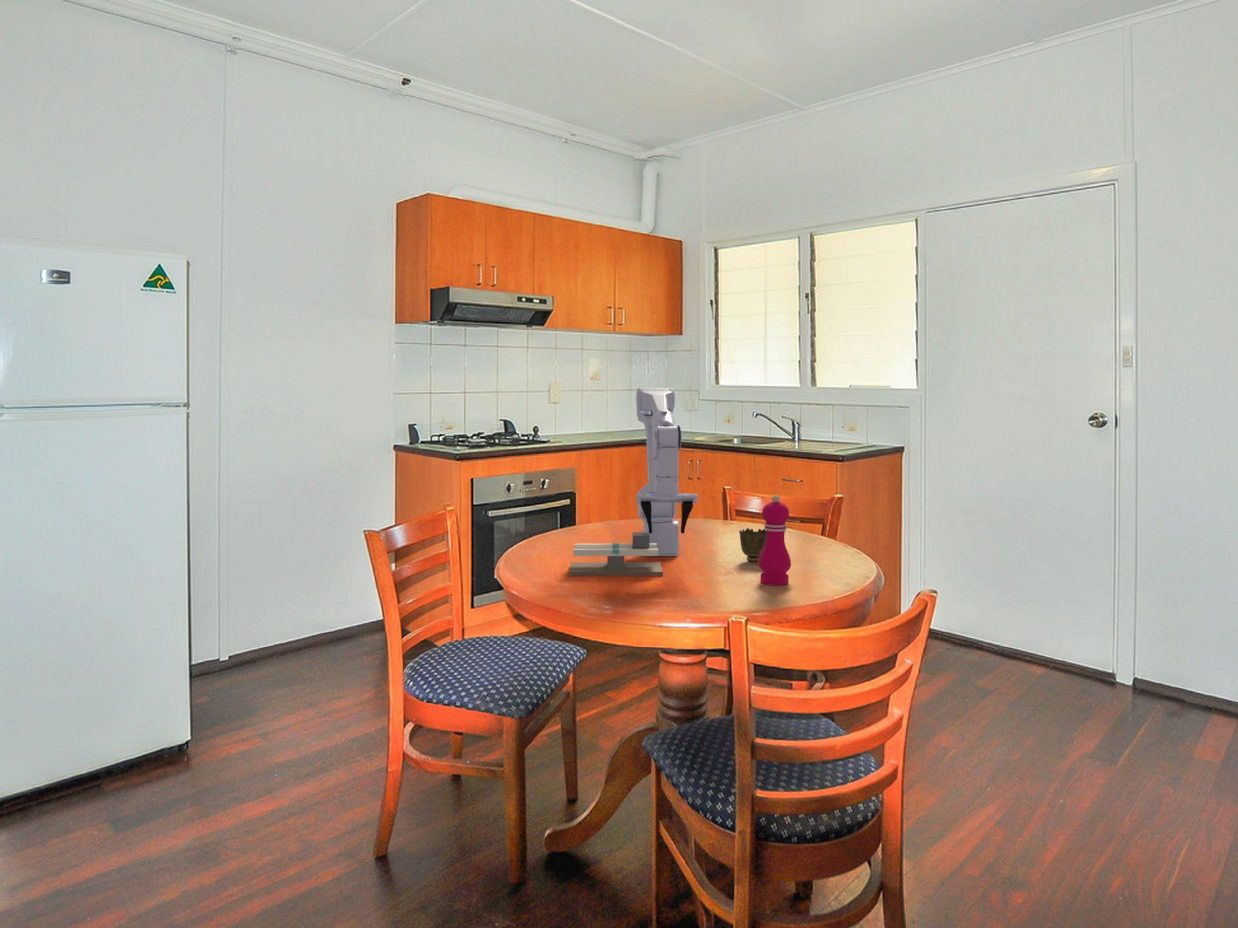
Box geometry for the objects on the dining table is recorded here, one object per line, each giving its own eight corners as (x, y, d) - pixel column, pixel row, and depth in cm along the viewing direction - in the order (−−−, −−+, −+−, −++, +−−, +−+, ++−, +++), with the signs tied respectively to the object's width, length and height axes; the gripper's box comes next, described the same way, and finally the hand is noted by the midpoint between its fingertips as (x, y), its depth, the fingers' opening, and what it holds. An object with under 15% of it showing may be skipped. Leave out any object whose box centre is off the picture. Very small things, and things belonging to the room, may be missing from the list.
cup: (770, 559, 200) (771, 528, 199) (766, 566, 193) (767, 534, 192) (741, 557, 203) (742, 527, 202) (736, 563, 196) (737, 532, 195)
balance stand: (660, 565, 194) (660, 541, 193) (662, 575, 184) (662, 550, 183) (571, 566, 193) (570, 542, 193) (569, 576, 184) (568, 550, 183)
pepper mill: (754, 578, 181) (756, 493, 179) (785, 577, 182) (787, 492, 180) (763, 586, 174) (764, 497, 172) (794, 585, 175) (796, 497, 173)
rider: (648, 548, 190) (648, 532, 190) (649, 552, 186) (649, 535, 186) (632, 548, 190) (632, 532, 190) (632, 552, 186) (632, 535, 186)
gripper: (636, 478, 182) (636, 535, 184) (698, 478, 182) (698, 535, 184) (636, 474, 189) (636, 530, 191) (696, 474, 189) (695, 530, 191)
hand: (666, 532), depth 188 cm, fingers open, 7 cm apart
